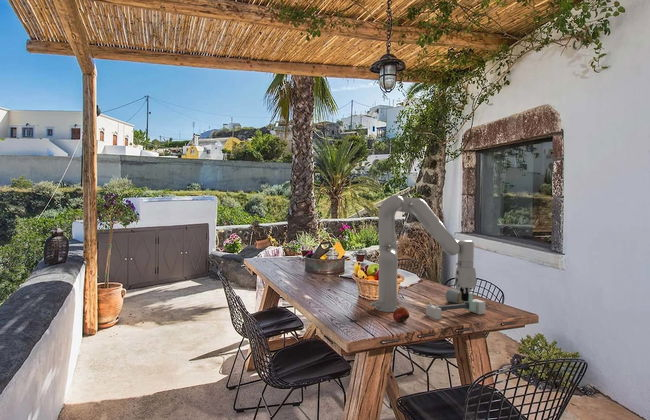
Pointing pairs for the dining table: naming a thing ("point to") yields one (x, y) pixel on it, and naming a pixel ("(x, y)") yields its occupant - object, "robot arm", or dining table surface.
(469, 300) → the sleeve
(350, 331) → the dining table surface
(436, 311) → the rail
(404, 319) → the pomegranate
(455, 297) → the ceramic mug
